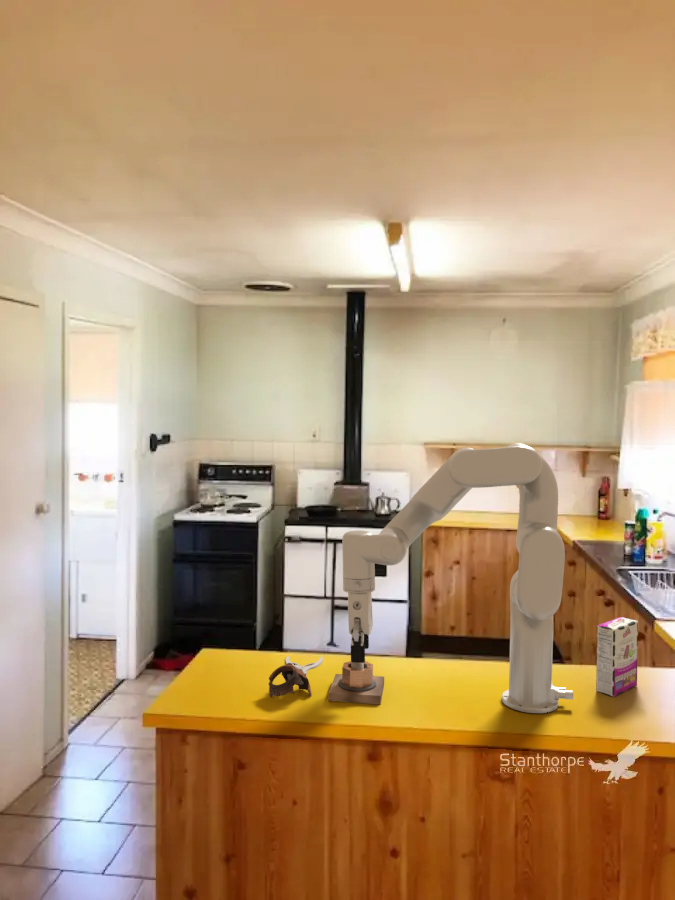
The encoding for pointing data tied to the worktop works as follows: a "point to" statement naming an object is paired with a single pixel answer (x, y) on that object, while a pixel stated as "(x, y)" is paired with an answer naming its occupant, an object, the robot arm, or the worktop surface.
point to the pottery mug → (288, 681)
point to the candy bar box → (617, 656)
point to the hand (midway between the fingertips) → (360, 655)
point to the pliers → (304, 668)
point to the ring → (357, 675)
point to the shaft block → (357, 689)
